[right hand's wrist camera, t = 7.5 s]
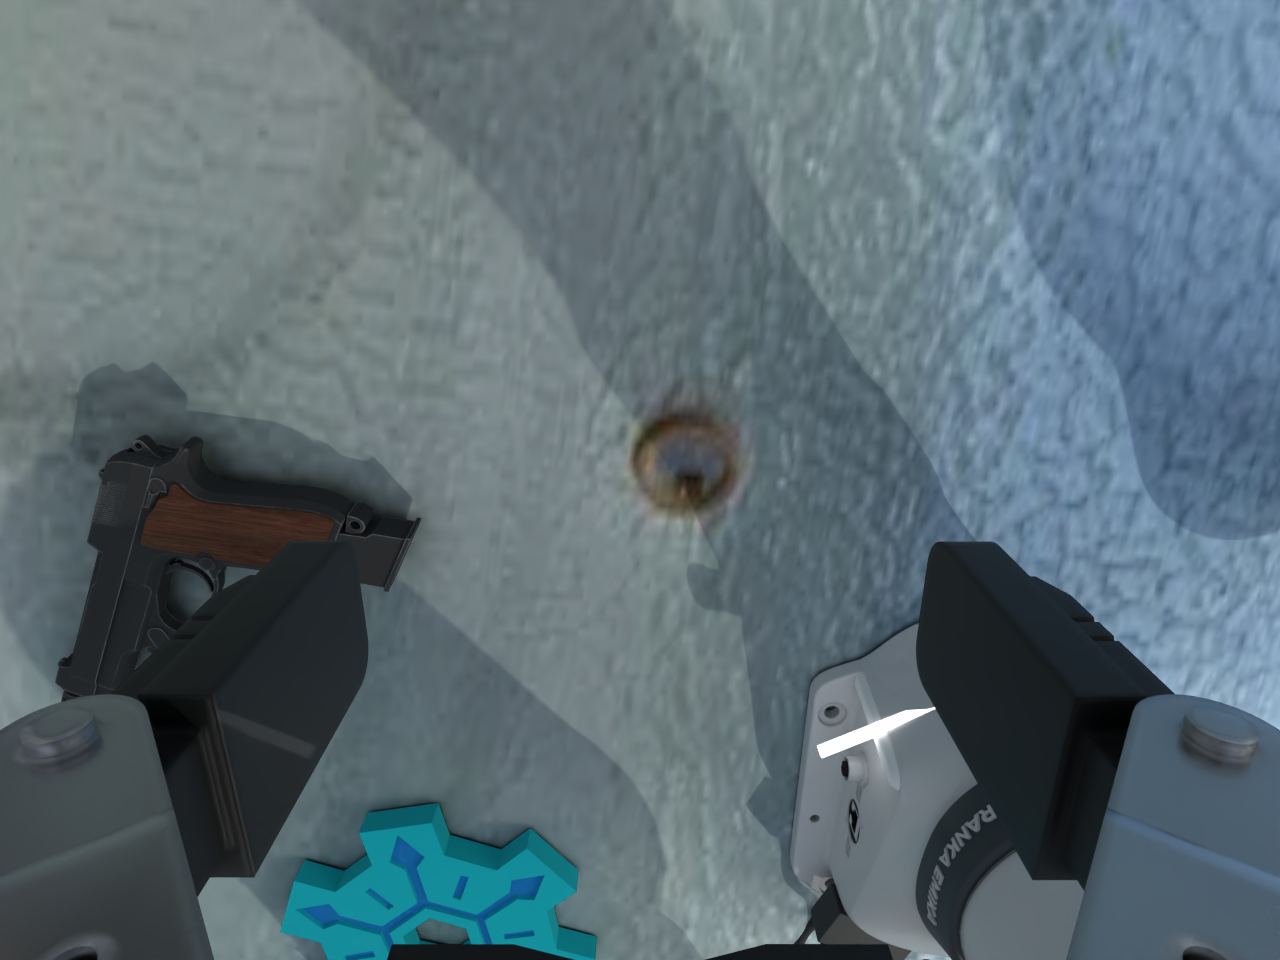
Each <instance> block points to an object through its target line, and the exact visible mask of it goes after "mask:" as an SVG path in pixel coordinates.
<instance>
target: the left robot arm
mask: <svg viewBox="0 0 1280 960" xmlns="http://www.w3.org/2000/svg"><path fill="white" fill-rule="evenodd" d="M918 625H919V623H917V624H915V625H913V626H911V627H909V628H907V629H905V630H903V631H901V632H900V633H898V634H897V635H895V636H893V637H892V638H891V639H889V640H888V641H886V642H885V643H884V644H882V645H881V646H880V647H878V648H877V649H876V650H874V651H873V652H871V653H870V654H868V655H867V656H865V657H863V658H861V659H859V660H855V661H852V662H849V663H845V664H842V665H839V666H836V667H833V668H830V669H828V670H826V671H824V672H822V673H820V674H819V675H817V676H816V677H815V678H814V680H813V681H812V683H811V686H810V690H809V698H808V706H807V714H806V723H805V731H804V739H803V747H802V756H801V764H800V772H799V780H798V788H797V797H796V805H795V813H794V821H793V830H792V838H791V847H790V863H791V866H792V869H793V872H794V874H795V875H796V876H797V877H798V878H799V879H801V880H802V881H803V882H804V883H806V884H807V885H808V886H810V887H811V888H813V889H815V890H817V891H818V892H820V893H822V896H821V897H820V898H819V900H818V901H817V902H816V904H815V905H814V906H813V908H812V909H811V914H812V918H811V919H810V920H809V922H808V924H807V926H806V928H805V930H804V932H803V933H802V935H801V936H800V938H799V939H798V940H797V941H796V943H795V944H804V943H805V941H806V940H807V938H808V936H809V935H810V934H811V933H812V931H814V930H815V931H816V935H817V940H818V942H820V943H821V944H888V946H889V949H890V952H891V955H892V958H893V960H904V959H905V958H906V957H907V956H908V954H909V953H910V952H911V951H915V952H920V953H925V954H931V955H937V956H944V957H950V958H951V959H952V960H1066V957H1067V954H1068V950H1069V946H1070V943H1071V939H1072V935H1073V931H1074V928H1075V924H1076V920H1077V917H1078V913H1079V909H1080V905H1081V902H1082V898H1083V894H1084V890H1083V889H1082V887H1081V886H1080V884H1079V882H1078V881H1077V880H1032V879H1031V877H1030V875H1029V873H1028V871H1027V870H1026V868H1025V866H1024V864H1023V863H1022V861H1021V859H1020V857H1019V856H1018V854H1017V852H1016V850H1015V849H1014V847H1013V845H1012V843H1011V841H1010V840H1009V838H1008V836H1007V834H1006V833H1005V831H1004V829H1003V827H1002V826H1001V824H1000V822H999V820H998V818H997V817H996V815H995V813H994V811H993V810H992V808H991V806H990V804H989V803H988V801H987V799H986V797H985V796H984V794H983V792H982V790H981V788H980V787H979V785H978V783H977V781H976V780H975V778H974V776H973V774H972V773H971V771H970V769H969V767H968V765H967V764H966V762H965V760H964V758H963V757H962V755H961V753H960V751H959V750H958V748H957V746H956V744H955V743H954V741H953V739H952V737H951V735H950V734H949V732H948V730H947V728H946V727H945V725H944V723H943V721H942V720H941V718H940V716H939V714H938V713H937V711H936V709H935V707H934V705H933V704H932V702H931V700H930V698H929V697H928V695H927V693H926V691H925V690H924V688H923V686H922V683H921V680H920V677H919V673H918V669H917V662H916V640H917V632H918ZM830 706H835V708H834V709H833V710H829V711H828V710H825V709H826V708H827V707H830ZM831 878H832V879H831ZM923 960H928V959H923Z"/></svg>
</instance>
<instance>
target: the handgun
mask: <svg viewBox="0 0 1280 960" xmlns="http://www.w3.org/2000/svg"><path fill="white" fill-rule="evenodd" d="M202 447H203V440H202V439H201V438H198V437H192V438H191V439H190V440H188V441H187V442H186V443H184V444H183V445H182V446H181V447H179V449H172V448H169V447H165V446H161V445H157V444H156V443H155V441H154V440H153V439H152V438H151V437H150V436H147V435H143V436H141V437H139V438H138V439H136V440H135V441H133V443H132V448H129V449H125V450H123V451H121V452H119V453H117V454H115V455H113V456H112V457H111V458H110V459H109V460H108V461H107V463H106V465H105V469H102V470H100V471H99V474H98V476H99V477H100V478H101V479H102V482H101V486H100V490H99V494H98V498H97V502H96V507H95V511H94V515H93V519H92V523H91V527H90V532H89V536H88V540H87V543H88V544H90V545H91V546H92V547H94V548H95V549H97V550H98V555H97V559H96V563H95V567H94V571H93V576H92V580H91V584H90V588H89V592H88V596H87V600H86V604H85V608H84V612H83V616H82V620H81V624H80V628H79V632H78V636H77V640H76V644H75V648H74V652H73V653H72V654H71V655H70V656H69V657H68V658H65V657H64V658H62V659H61V660H60V661H59V662H58V667H59V669H58V673H57V677H56V681H55V683H56V684H57V685H59V686H60V687H61V688H62V689H64V692H63V697H62V701H61V702H63V701H67V700H71V699H75V698H80V697H85V696H92V695H104V694H111V693H112V692H113V691H114V690H115V689H116V688H117V687H118V686H119V685H120V684H121V683H122V682H123V681H124V680H125V679H126V678H127V677H128V676H129V675H130V674H131V673H133V671H134V668H135V664H136V661H137V657H138V654H139V650H141V649H146V650H147V651H148V652H149V653H153V652H154V651H156V650H157V649H158V648H159V647H160V646H161V645H162V644H163V643H164V642H165V641H166V640H167V639H172V634H173V633H174V632H175V631H176V630H177V629H179V628H180V627H181V626H182V625H183V624H184V623H183V622H180V621H179V620H177V619H175V618H174V617H173V616H172V615H171V614H170V613H169V611H168V609H167V608H166V605H167V597H168V589H169V582H170V577H171V574H172V571H175V570H187V571H191V572H193V573H196V574H197V575H199V576H200V577H202V578H203V579H204V580H205V582H206V583H207V585H208V586H209V590H210V592H213V594H212V596H213V595H214V594H216V593H217V592H219V591H221V590H222V589H223V586H224V583H225V570H226V568H227V566H232V567H241V568H248V569H255V570H261V569H262V568H263V567H264V566H265V565H266V564H267V563H268V562H269V561H270V560H271V559H272V558H273V557H274V556H275V555H276V554H277V553H278V552H279V551H280V550H281V549H282V548H283V547H284V546H285V545H286V544H287V543H288V542H290V541H348V542H349V543H350V544H351V545H352V547H353V549H354V551H355V555H356V559H357V566H358V573H359V580H360V583H363V584H368V585H374V586H379V587H385V588H384V591H386V592H388V591H389V589H390V587H391V585H392V583H393V581H394V579H395V577H396V575H397V573H398V571H399V568H400V566H401V564H402V562H403V559H404V557H405V555H406V553H407V550H408V548H409V546H410V544H411V541H412V539H413V537H414V534H415V532H416V530H417V528H418V525H419V523H420V521H421V519H422V518H418V517H417V518H416V520H415V521H410V520H405V519H399V518H393V517H387V516H382V517H380V518H379V519H371V518H372V517H373V515H374V511H373V508H372V507H371V506H369V505H368V504H366V503H362V502H356V503H353V502H352V501H350V500H349V499H347V498H346V497H344V496H342V495H339V494H337V493H334V492H332V491H329V490H325V489H320V488H315V487H303V486H288V485H276V484H265V483H251V482H240V481H229V480H225V479H221V478H219V477H217V476H216V475H214V474H213V473H212V472H211V471H210V470H209V469H208V468H207V467H206V465H205V463H204V462H203V459H202V455H201V451H202ZM176 557H183V558H187V559H190V560H193V561H195V562H197V563H199V565H200V566H201V567H202V568H203V569H205V570H209V572H210V574H211V576H212V579H214V585H213V583H212V581H211V579H210V577H209V576H208V575H207V574H206V573H205V572H204V571H203V570H201V569H200V568H198V567H196V566H193V565H190V564H187V563H184V562H183V561H182V560H177V561H175V560H176ZM213 590H214V591H213Z"/></svg>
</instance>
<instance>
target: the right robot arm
mask: <svg viewBox="0 0 1280 960" xmlns="http://www.w3.org/2000/svg"><path fill="white" fill-rule="evenodd" d="M367 662H368V637H367V629H366V622H365V615H364V608H363V601H362V594H361V587H360V580H359V573H358V566H357V559H356V555H355V551H354V549H353V547H352V545H351V544H350V543H349V542H348V541H290V542H288V543H287V544H286V545H285V546H284V547H283V548H282V549H281V550H280V551H279V552H278V553H277V554H276V555H275V556H274V557H273V558H272V559H271V560H270V561H269V562H268V563H267V564H266V565H265V566H264V567H263V568H262V569H261V570H260V571H259V572H258V573H257V574H256V575H249V576H247V577H245V578H244V579H242V580H240V581H238V582H236V583H234V584H232V585H230V586H229V587H227V588H225V589H223V590H221V591H219V592H217V593H216V594H214V595H213V596H212V597H211V598H210V599H209V600H208V601H207V602H206V603H205V604H204V605H203V606H202V607H200V608H199V609H198V610H197V611H196V612H195V613H194V614H193V615H192V619H191V620H187V621H186V622H185V623H184V624H183V625H182V626H181V627H180V628H179V629H177V630H176V631H175V632H174V633H173V634H172V639H167V640H166V641H165V642H164V643H163V644H162V645H161V646H160V647H159V648H158V649H157V650H156V651H154V652H153V653H152V654H151V655H150V656H149V657H148V658H147V659H146V660H145V661H144V662H143V663H142V664H141V665H140V666H139V667H138V668H137V669H136V670H135V671H134V672H133V673H131V674H130V675H129V676H128V677H127V678H126V679H125V680H124V681H123V682H122V683H121V684H120V685H119V686H118V687H117V688H116V689H115V690H114V691H113V692H112V693H111V694H104V695H92V696H85V697H80V698H75V699H71V700H67V701H63V702H60V703H57V704H54V705H51V706H48V707H45V708H42V709H40V710H38V711H35V712H33V713H31V714H28V715H26V716H24V717H22V718H20V719H18V720H16V721H15V722H13V723H11V724H10V725H8V726H6V727H5V728H3V729H2V730H0V960H214V957H213V954H212V950H211V946H210V943H209V939H208V935H207V931H206V928H205V924H204V920H203V917H202V913H201V909H200V905H199V902H198V898H197V897H198V895H199V894H200V892H201V891H202V889H203V887H204V886H205V884H206V883H207V881H208V879H209V878H210V877H254V876H255V875H256V873H257V871H258V869H259V867H260V866H261V864H262V862H263V860H264V858H265V857H266V855H267V853H268V851H269V849H270V848H271V846H272V844H273V842H274V841H275V839H276V837H277V835H278V833H279V832H280V830H281V828H282V826H283V824H284V823H285V821H286V819H287V817H288V816H289V814H290V812H291V810H292V808H293V807H294V805H295V803H296V801H297V799H298V798H299V796H300V794H301V792H302V790H303V789H304V787H305V785H306V783H307V782H308V780H309V778H310V776H311V774H312V773H313V771H314V769H315V767H316V765H317V764H318V762H319V760H320V758H321V757H322V755H323V753H324V751H325V749H326V748H327V746H328V744H329V742H330V740H331V739H332V737H333V735H334V733H335V731H336V730H337V728H338V726H339V724H340V723H341V721H342V719H343V717H344V715H345V714H346V712H347V710H348V708H349V706H350V705H351V703H352V701H353V699H354V698H355V696H356V694H357V692H358V690H359V689H360V687H361V685H362V682H363V680H364V676H365V673H366V668H367ZM916 662H917V669H918V673H919V677H920V680H921V683H922V686H923V688H924V690H925V691H926V693H927V695H928V697H929V698H930V700H931V702H932V704H933V705H934V707H935V709H936V711H937V713H938V714H939V716H940V718H941V720H942V721H943V723H944V725H945V727H946V728H947V730H948V732H949V734H950V735H951V737H952V739H953V741H954V743H955V744H956V746H957V748H958V750H959V751H960V753H961V755H962V757H963V758H964V760H965V762H966V764H967V765H968V767H969V769H970V771H971V773H972V774H973V776H974V778H975V780H976V781H977V783H978V785H979V787H980V788H981V790H982V792H983V794H984V796H985V797H986V799H987V801H988V803H989V804H990V806H991V808H992V810H993V811H994V813H995V815H996V817H997V818H998V820H999V822H1000V824H1001V826H1002V827H1003V829H1004V831H1005V833H1006V834H1007V836H1008V838H1009V840H1010V841H1011V843H1012V845H1013V847H1014V849H1015V850H1016V852H1017V854H1018V856H1019V857H1020V859H1021V861H1022V863H1023V864H1024V866H1025V868H1026V870H1027V871H1028V873H1029V875H1030V877H1031V879H1032V880H1077V881H1078V882H1079V884H1080V886H1081V887H1082V889H1083V890H1084V894H1083V898H1082V902H1081V905H1080V909H1079V913H1078V917H1077V920H1076V924H1075V928H1074V931H1073V935H1072V939H1071V943H1070V946H1069V950H1068V954H1067V957H1066V960H1280V730H1278V729H1277V728H1275V727H1274V726H1272V725H1270V724H1269V723H1267V722H1265V721H1264V720H1262V719H1260V718H1258V717H1256V716H1254V715H1252V714H1249V713H1247V712H1245V711H1242V710H1240V709H1238V708H1235V707H1232V706H1229V705H1226V704H1223V703H1220V702H1217V701H1213V700H1209V699H1205V698H1200V697H1195V696H1188V695H1176V694H1174V693H1173V692H1172V691H1171V690H1170V689H1169V688H1168V687H1167V686H1166V685H1165V684H1164V683H1163V682H1162V681H1161V680H1159V679H1158V678H1157V677H1156V676H1155V675H1154V674H1153V673H1152V672H1151V671H1150V670H1149V669H1148V668H1147V667H1146V666H1145V665H1144V664H1143V663H1142V662H1140V661H1139V660H1138V659H1137V658H1136V657H1135V656H1134V655H1133V654H1132V653H1131V652H1130V651H1129V650H1128V649H1127V648H1126V647H1125V646H1124V645H1123V644H1121V643H1120V642H1119V641H1114V636H1113V635H1112V634H1111V633H1110V632H1109V631H1108V630H1107V629H1106V628H1105V627H1104V626H1102V625H1101V624H1100V623H1099V622H1094V617H1093V616H1092V615H1091V614H1090V613H1089V612H1088V611H1087V610H1086V609H1085V608H1084V607H1082V606H1081V605H1080V604H1079V603H1078V602H1077V601H1076V600H1075V599H1074V598H1073V597H1072V596H1071V595H1069V594H1067V593H1065V592H1063V591H1062V590H1060V589H1058V588H1056V587H1054V586H1052V585H1050V584H1048V583H1047V582H1045V581H1043V580H1041V579H1039V578H1037V577H1030V576H1029V575H1028V574H1027V573H1026V572H1025V571H1024V570H1023V569H1022V568H1021V567H1020V566H1019V565H1018V564H1017V563H1016V562H1015V561H1014V560H1013V559H1012V558H1011V557H1010V556H1009V555H1008V554H1007V553H1006V552H1005V551H1004V550H1003V549H1002V548H1001V547H1000V546H999V545H998V544H996V543H994V542H937V543H935V544H934V545H933V547H932V549H931V551H930V554H929V557H928V563H927V570H926V577H925V584H924V591H923V597H922V604H921V611H920V618H919V625H918V632H917V640H916ZM387 960H574V959H570V958H566V957H562V956H558V955H554V954H550V953H546V952H542V951H539V950H535V949H531V948H527V947H523V946H519V945H515V944H392V946H391V949H390V952H389V955H388V958H387ZM706 960H893V958H892V955H891V952H890V949H889V946H888V944H765V945H761V946H757V947H753V948H749V949H745V950H741V951H738V952H734V953H730V954H726V955H722V956H718V957H714V958H710V959H706Z"/></svg>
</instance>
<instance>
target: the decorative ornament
mask: <svg viewBox="0 0 1280 960" xmlns="http://www.w3.org/2000/svg"><path fill="white" fill-rule="evenodd" d="M359 835H360V837H361V840H362V842H363V845H364V847H365V849H366V852H367V855H366V856H364V857H363V858H361V859H360V860H359V861H357V862H356V863H355V864H353V865H352V866H350V867H349V868H348V869H346V870H345V871H343V870H339V869H336V868H332V867H329V866H325V865H321V864H318V863H314V862H311V861H307V860H304V862H303V864H302V866H301V868H300V870H299V872H298V874H297V876H296V878H295V880H294V883H293V887H292V891H291V894H290V898H289V902H288V905H287V909H286V913H285V916H284V920H283V923H282V927H281V931H280V932H282V933H286V934H290V935H294V936H297V937H301V938H305V939H309V940H313V941H316V942H320V943H321V944H322V947H323V949H324V951H325V954H326V956H327V959H328V960H387V958H388V955H389V952H390V949H391V946H392V944H435V943H430V942H426V941H421V940H420V939H419V936H418V934H417V931H416V927H417V926H419V925H420V924H422V923H423V922H424V921H426V920H427V919H429V918H431V919H434V920H438V921H441V922H445V923H448V924H452V925H455V926H459V927H462V928H465V929H467V932H468V936H469V940H468V941H466V942H465V943H463V944H515V945H519V946H523V947H527V948H531V949H535V950H539V951H542V952H546V953H550V954H554V955H558V956H562V957H566V958H570V959H574V960H595V957H596V939H597V937H596V936H592V935H588V934H584V933H580V932H577V931H573V930H569V929H565V928H561V927H559V926H558V922H557V918H556V914H555V909H554V906H556V905H557V904H559V903H560V902H562V901H563V900H564V899H566V898H567V897H569V896H570V895H572V894H573V893H575V892H576V890H577V879H578V869H577V868H575V867H574V866H573V865H572V864H571V863H570V862H569V861H567V860H566V859H565V858H564V857H563V856H562V855H560V854H559V853H558V852H557V851H556V850H555V849H554V848H552V847H551V846H550V845H549V844H548V843H547V842H546V841H544V840H543V839H542V838H541V837H540V836H539V835H538V834H536V833H535V832H534V831H533V830H532V829H531V828H530V829H528V830H527V831H526V832H524V833H523V834H521V835H520V836H519V837H517V838H516V839H515V840H513V841H512V842H511V843H509V844H508V845H507V846H505V847H504V848H502V849H497V848H494V847H491V846H487V845H484V844H480V843H477V842H473V841H470V840H466V839H463V838H459V837H456V836H453V835H450V833H449V831H448V828H447V825H446V823H445V820H444V817H443V814H442V812H441V809H440V806H439V804H438V803H434V804H427V805H420V806H413V807H406V808H399V809H391V810H384V811H377V812H370V813H367V816H366V818H365V820H364V822H363V825H362V827H361V829H360V832H359Z"/></svg>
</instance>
